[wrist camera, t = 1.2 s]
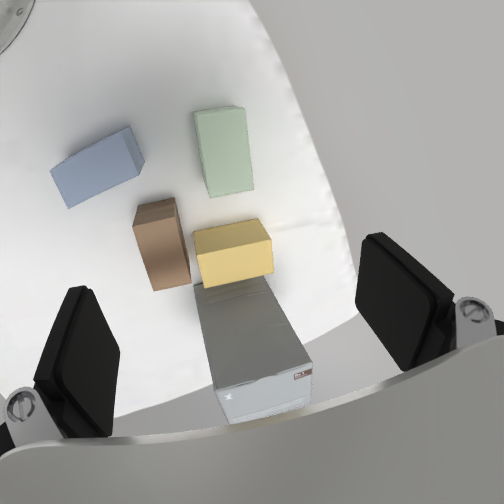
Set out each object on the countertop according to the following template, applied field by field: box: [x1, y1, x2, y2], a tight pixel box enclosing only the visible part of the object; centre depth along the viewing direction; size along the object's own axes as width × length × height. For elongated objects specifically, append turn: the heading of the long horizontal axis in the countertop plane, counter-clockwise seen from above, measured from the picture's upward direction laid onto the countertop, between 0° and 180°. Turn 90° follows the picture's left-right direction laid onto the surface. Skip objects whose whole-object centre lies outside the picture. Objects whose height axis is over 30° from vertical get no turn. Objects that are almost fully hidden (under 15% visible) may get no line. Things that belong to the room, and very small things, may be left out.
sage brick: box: [193, 106, 254, 198], centre depth 26 cm, size 7×4×5 cm, turn 6°
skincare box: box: [194, 275, 313, 425], centre depth 30 cm, size 8×7×16 cm
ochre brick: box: [193, 219, 274, 288], centre depth 31 cm, size 7×4×5 cm, turn 96°
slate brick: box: [50, 127, 144, 209], centre depth 24 cm, size 7×4×5 cm, turn 106°
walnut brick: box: [132, 198, 192, 291], centre depth 29 cm, size 7×4×5 cm, turn 6°
